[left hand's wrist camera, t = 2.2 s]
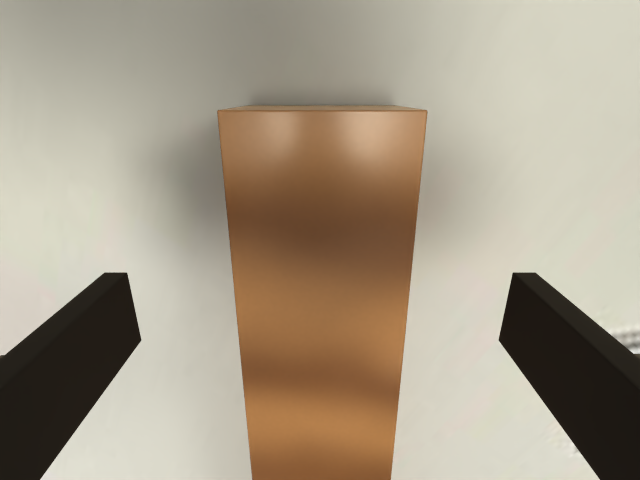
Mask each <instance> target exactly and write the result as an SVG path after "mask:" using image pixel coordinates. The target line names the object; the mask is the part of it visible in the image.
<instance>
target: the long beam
mask: <svg viewBox="0 0 640 480" xmlns="http://www.w3.org/2000/svg"><path fill="white" fill-rule="evenodd" d="M217 114H218V124H219V135H220V145H221V156H222V166H223V177H224V187H225V198H226V208H227V219H228V229H229V240H230V250H231V261H232V271H233V282H234V292H235V303H236V313H237V324H238V334H239V345H240V355H241V366H242V376H243V387H244V397H245V408H246V418H247V429H248V439H249V449H250V460H251V470H252V480H391V471H392V461H393V451H394V441H395V431H396V421H397V411H398V401H399V391H400V381H401V371H402V361H403V351H404V341H405V331H406V321H407V311H408V301H409V291H410V281H411V270H412V260H413V250H414V240H415V230H416V220H417V210H418V200H419V190H420V180H421V170H422V160H423V150H424V140H425V130H426V120H427V110H422V109H415V108H408V107H402V106H395V105H248V106H242V107H235V108H229V109H223V110H218V111H217Z"/></svg>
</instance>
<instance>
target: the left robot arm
mask: <svg viewBox="0 0 640 480" xmlns="http://www.w3.org/2000/svg"><path fill="white" fill-rule="evenodd" d="M140 341H141V336H140V332H139V327H138V322H137V317H136V313H135V308H134V303H133V298H132V294H131V289H130V284H129V279H128V275H127V273H104V274H102V275H101V276H100V277H99V278H98V279H96V280H95V281H94V282H93V283H92V284H90V285H89V286H88V287H87V288H85V289H84V290H83V291H82V292H81V293H79V294H78V295H77V296H76V297H75V298H73V299H72V300H71V301H70V302H69V303H67V304H66V305H65V306H64V307H63V308H61V309H60V310H59V311H58V312H56V313H55V314H54V315H53V316H52V317H50V318H49V319H48V320H47V321H46V322H44V323H43V324H42V325H41V326H40V327H38V328H37V329H36V330H35V331H34V332H32V333H31V334H30V335H29V336H27V337H26V338H25V339H24V340H23V341H21V342H20V343H19V344H18V345H17V346H15V347H14V348H13V349H12V350H11V351H9V352H8V353H7V354H6V355H1V356H0V480H40V479H41V477H42V476H43V475H44V473H45V472H46V471H47V469H48V468H49V466H50V465H51V464H52V462H53V461H54V460H55V458H56V457H57V455H58V454H59V453H60V451H61V450H62V449H63V447H64V446H65V444H66V443H67V442H68V440H69V439H70V438H71V436H72V435H73V433H74V432H75V431H76V429H77V428H78V427H79V425H80V424H81V422H82V421H83V420H84V418H85V417H86V416H87V414H88V413H89V411H90V410H91V409H92V407H93V406H94V405H95V403H96V402H97V400H98V399H99V398H100V396H101V395H102V394H103V392H104V391H105V389H106V388H107V387H108V385H109V384H110V383H111V381H112V380H113V378H114V377H115V376H116V374H117V373H118V372H119V370H120V369H121V367H122V366H123V365H124V363H125V362H126V361H127V359H128V358H129V356H130V355H131V354H132V352H133V351H134V350H135V348H136V347H137V345H138V344H139V343H140ZM499 341H500V343H501V344H502V345H503V347H504V348H505V350H506V351H507V352H508V354H509V355H510V356H511V358H512V359H513V361H514V362H515V363H516V365H517V366H518V367H519V369H520V370H521V372H522V373H523V374H524V376H525V377H526V378H527V380H528V381H529V383H530V384H531V385H532V387H533V388H534V389H535V391H536V392H537V394H538V395H539V396H540V398H541V399H542V400H543V402H544V403H545V405H546V406H547V407H548V409H549V410H550V411H551V413H552V414H553V416H554V417H555V418H556V420H557V421H558V422H559V424H560V425H561V427H562V428H563V429H564V431H565V432H566V433H567V435H568V436H569V438H570V439H571V440H572V442H573V443H574V444H575V446H576V447H577V449H578V450H579V451H580V453H581V454H582V455H583V457H584V458H585V460H586V461H587V462H588V464H589V465H590V466H591V468H592V469H593V471H594V472H595V473H596V475H597V476H598V477H599V479H600V480H640V354H633V353H632V352H631V351H629V350H628V349H627V348H626V347H625V346H623V345H622V344H621V343H620V342H619V341H617V340H616V339H615V338H614V337H613V336H611V335H610V334H609V333H608V332H606V331H605V330H604V329H603V328H602V327H600V326H599V325H598V324H597V323H596V322H594V321H593V320H592V319H591V318H590V317H588V316H587V315H586V314H585V313H584V312H582V311H581V310H580V309H579V308H577V307H576V306H575V305H574V304H573V303H571V302H570V301H569V300H568V299H567V298H565V297H564V296H563V295H562V294H561V293H559V292H558V291H557V290H556V289H555V288H553V287H552V286H551V285H550V284H548V283H547V282H546V281H545V280H544V279H542V278H541V277H540V276H539V275H538V274H536V273H513V275H512V279H511V284H510V289H509V294H508V298H507V303H506V308H505V313H504V317H503V322H502V327H501V332H500V336H499Z"/></svg>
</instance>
